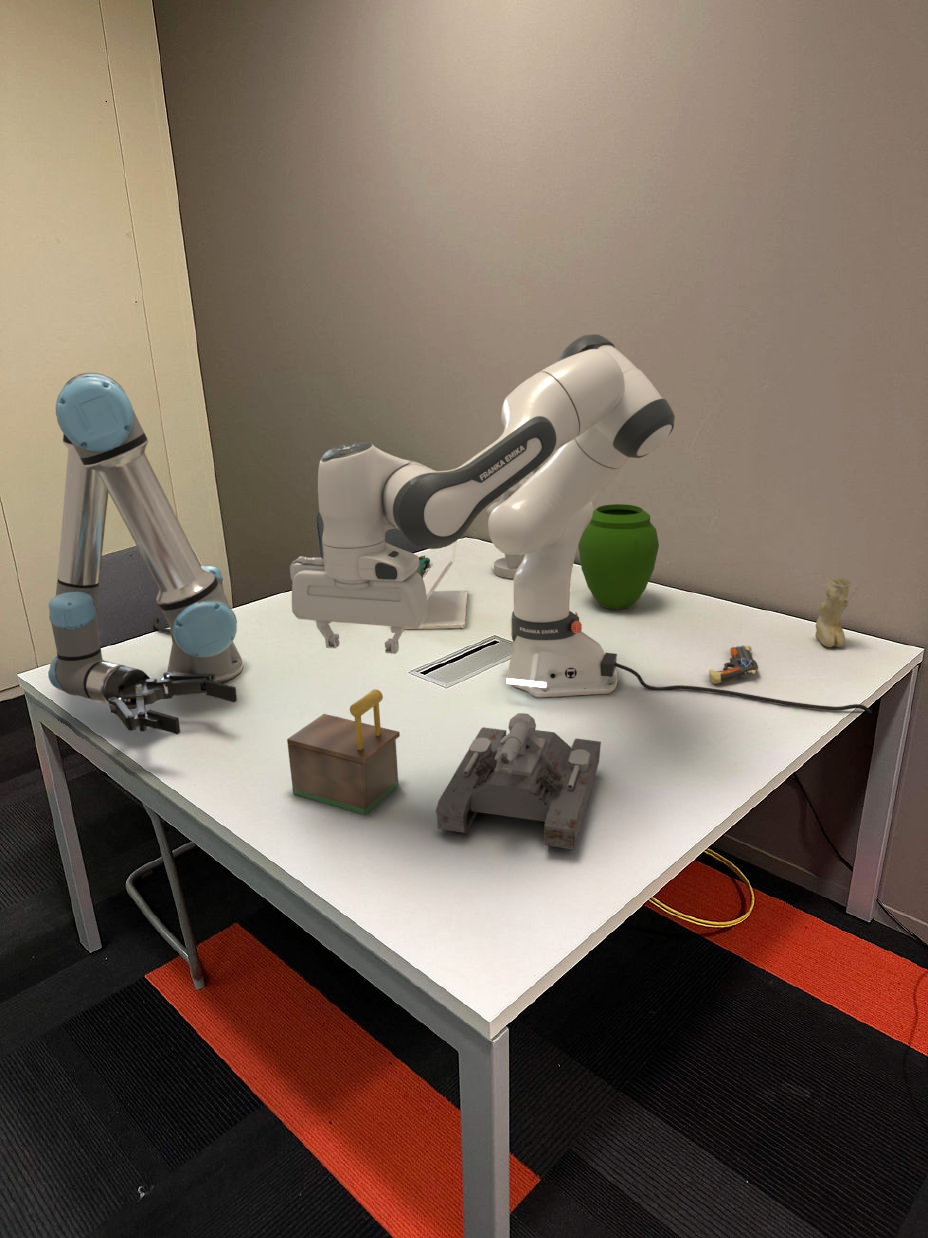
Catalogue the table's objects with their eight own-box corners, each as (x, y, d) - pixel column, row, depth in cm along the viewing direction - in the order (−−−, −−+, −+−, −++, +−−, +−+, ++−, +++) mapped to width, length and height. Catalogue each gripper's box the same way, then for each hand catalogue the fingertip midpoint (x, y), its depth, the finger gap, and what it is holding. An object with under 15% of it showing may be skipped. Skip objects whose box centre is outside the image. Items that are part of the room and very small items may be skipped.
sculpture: (821, 649, 184) (830, 583, 179) (808, 637, 191) (816, 573, 185) (848, 649, 184) (858, 582, 179) (834, 636, 191) (843, 572, 185)
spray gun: (399, 561, 257) (443, 568, 251) (370, 574, 242) (417, 581, 237) (399, 547, 256) (444, 554, 250) (370, 559, 241) (417, 566, 235)
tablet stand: (467, 593, 225) (465, 531, 219) (465, 628, 202) (462, 559, 196) (399, 594, 226) (395, 532, 220) (388, 629, 203) (384, 560, 197)
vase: (599, 587, 227) (601, 497, 218) (668, 600, 216) (673, 505, 208) (562, 608, 212) (564, 513, 204) (634, 623, 202) (639, 523, 193)
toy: (483, 753, 146) (481, 673, 141) (600, 767, 141) (602, 685, 136) (436, 838, 124) (432, 746, 118) (573, 859, 118) (575, 764, 113)
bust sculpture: (503, 593, 225) (502, 460, 212) (483, 567, 247) (480, 445, 234) (562, 587, 228) (563, 456, 215) (536, 562, 250) (536, 441, 237)
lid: (399, 736, 134) (396, 687, 131) (365, 764, 127) (361, 713, 124) (324, 718, 141) (319, 671, 138) (287, 743, 133) (281, 694, 130)
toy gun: (710, 674, 168) (763, 671, 166) (702, 644, 186) (750, 641, 184) (711, 687, 169) (764, 684, 166) (703, 656, 186) (751, 653, 184)
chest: (398, 784, 138) (395, 735, 135) (365, 815, 130) (361, 763, 127) (328, 765, 144) (324, 718, 141) (292, 793, 136) (287, 744, 133)
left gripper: (173, 679, 167) (258, 701, 158) (64, 732, 146) (154, 761, 137) (169, 644, 165) (254, 664, 155) (57, 693, 144) (148, 719, 134)
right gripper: (278, 562, 121) (288, 651, 126) (415, 570, 116) (419, 663, 120) (298, 549, 127) (307, 636, 132) (429, 557, 121) (433, 647, 126)
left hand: (207, 709), depth 146 cm, fingers open, 13 cm apart
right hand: (362, 649), depth 126 cm, fingers open, 8 cm apart
